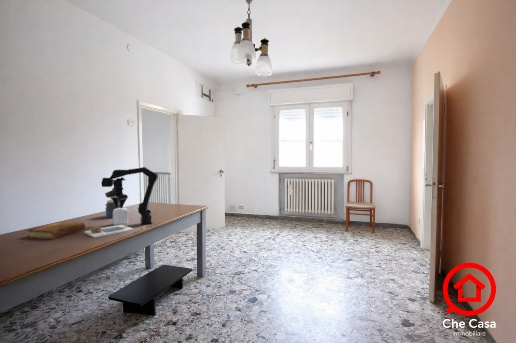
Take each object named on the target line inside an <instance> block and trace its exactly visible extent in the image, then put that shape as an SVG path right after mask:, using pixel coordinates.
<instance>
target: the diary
mask: <svg viewBox="0 0 516 343" xmlns="http://www.w3.org/2000/svg"><path fill="white" fill-rule="evenodd" d="M85 228H86V225H85V223H84V222H71V221H60V222H56V223H52V224H47V225H43V226H40V227H34V228H31V229H27V232H29V238H34V237H36V238H35V239H42V240H43V239H45V240H56V239H59V238H62V237H65V236H69V235H71V234H72V235H73V234H74V233H77V232H81V231H85V230H86V229H85Z"/></svg>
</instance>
